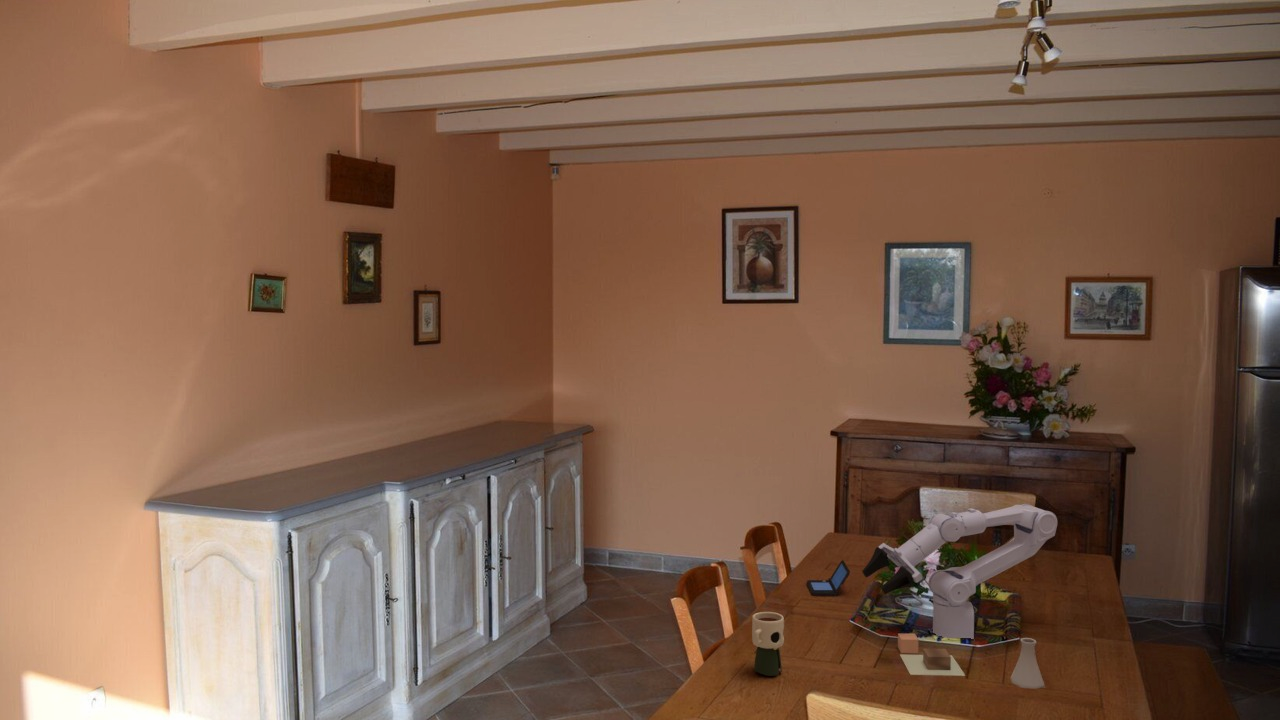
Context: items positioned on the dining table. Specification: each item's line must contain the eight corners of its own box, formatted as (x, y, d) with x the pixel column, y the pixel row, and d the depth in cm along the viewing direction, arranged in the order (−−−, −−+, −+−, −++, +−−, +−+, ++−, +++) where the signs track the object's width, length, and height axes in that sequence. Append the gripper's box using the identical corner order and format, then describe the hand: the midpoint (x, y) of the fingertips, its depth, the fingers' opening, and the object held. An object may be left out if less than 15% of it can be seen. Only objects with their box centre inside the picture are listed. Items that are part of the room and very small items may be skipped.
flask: (1003, 679, 217) (1004, 635, 217) (1035, 677, 218) (1036, 633, 217) (1019, 692, 210) (1020, 646, 209) (1051, 691, 211) (1052, 645, 210)
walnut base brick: (945, 661, 226) (945, 648, 226) (950, 670, 221) (950, 657, 221) (923, 661, 226) (923, 648, 226) (927, 669, 221) (928, 656, 221)
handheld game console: (805, 583, 288) (806, 559, 288) (842, 584, 288) (843, 559, 287) (811, 597, 276) (811, 571, 275) (850, 597, 276) (850, 571, 275)
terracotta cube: (914, 649, 235) (914, 633, 235) (918, 656, 231) (918, 639, 231) (897, 649, 236) (897, 633, 235) (901, 655, 232) (901, 639, 231)
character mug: (769, 684, 215) (769, 626, 214) (741, 676, 219) (741, 620, 219) (793, 668, 224) (793, 613, 223) (766, 661, 228) (766, 607, 227)
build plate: (951, 657, 230) (951, 655, 230) (965, 678, 218) (965, 675, 218) (899, 656, 231) (899, 654, 231) (910, 677, 219) (910, 674, 219)
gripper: (893, 524, 244) (850, 556, 242) (931, 553, 232) (886, 588, 230) (901, 542, 248) (859, 574, 246) (939, 572, 235) (895, 607, 233)
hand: (873, 582), depth 238 cm, fingers open, 7 cm apart
